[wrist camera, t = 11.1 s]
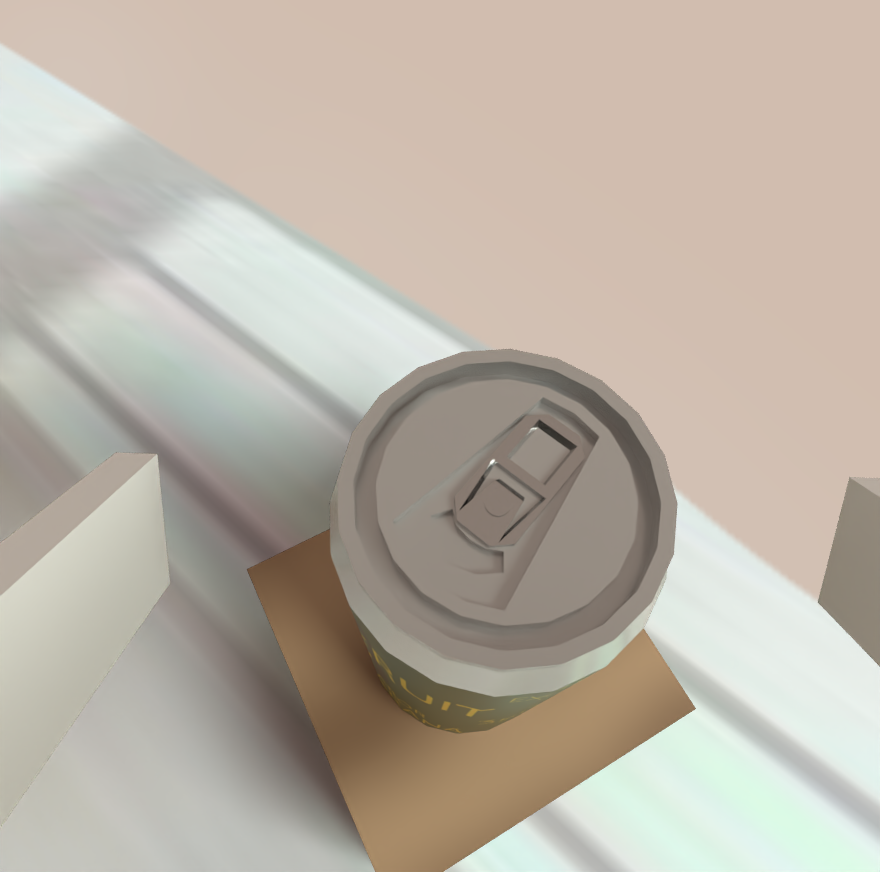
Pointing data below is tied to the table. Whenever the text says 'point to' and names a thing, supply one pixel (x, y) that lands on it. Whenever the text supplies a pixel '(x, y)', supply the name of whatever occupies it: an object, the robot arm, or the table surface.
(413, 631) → the guarana soda can
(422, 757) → the walnut block
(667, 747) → the table surface
